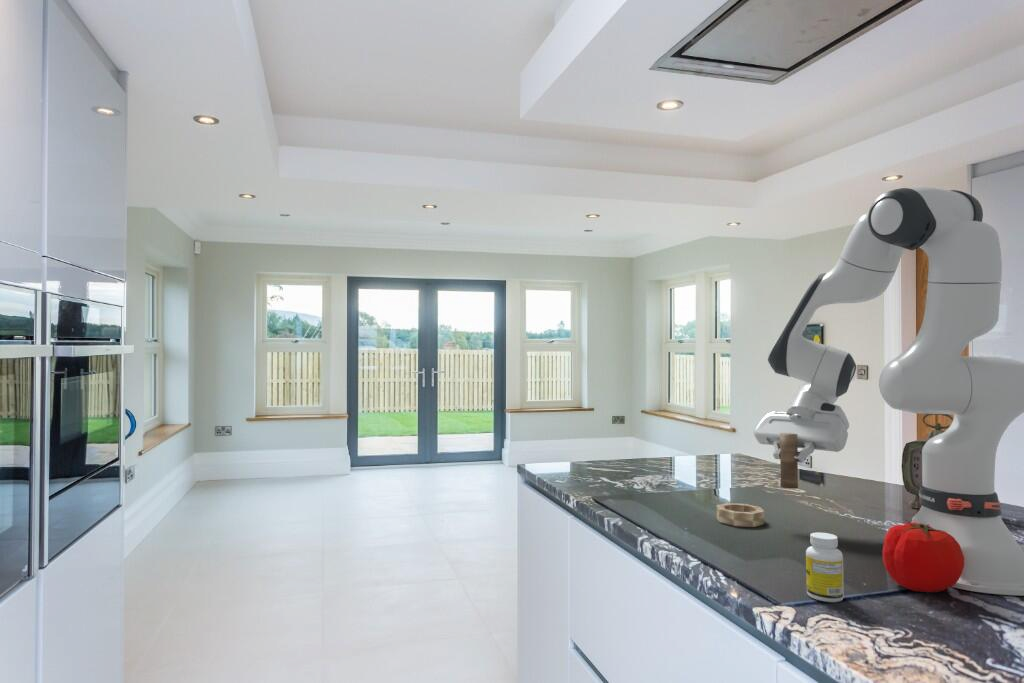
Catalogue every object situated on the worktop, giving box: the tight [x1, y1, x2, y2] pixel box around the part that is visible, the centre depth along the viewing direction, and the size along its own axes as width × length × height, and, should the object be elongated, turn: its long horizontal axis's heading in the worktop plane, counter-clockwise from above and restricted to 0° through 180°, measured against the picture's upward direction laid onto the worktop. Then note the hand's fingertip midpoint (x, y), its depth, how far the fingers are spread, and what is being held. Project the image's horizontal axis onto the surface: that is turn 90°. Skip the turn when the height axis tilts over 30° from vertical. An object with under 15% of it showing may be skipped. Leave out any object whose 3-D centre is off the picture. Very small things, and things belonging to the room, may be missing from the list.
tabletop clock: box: [901, 414, 954, 508], centre depth 161 cm, size 14×9×25 cm, turn 42°
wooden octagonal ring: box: [716, 502, 765, 528], centre depth 149 cm, size 10×10×3 cm
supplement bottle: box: [805, 532, 845, 603], centre depth 102 cm, size 5×5×10 cm
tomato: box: [881, 517, 964, 593], centre depth 105 cm, size 12×12×11 cm
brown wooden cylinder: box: [779, 433, 799, 490], centre depth 143 cm, size 4×4×12 cm
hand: (787, 458), depth 143 cm, fingers closed on brown wooden cylinder, 4 cm apart
